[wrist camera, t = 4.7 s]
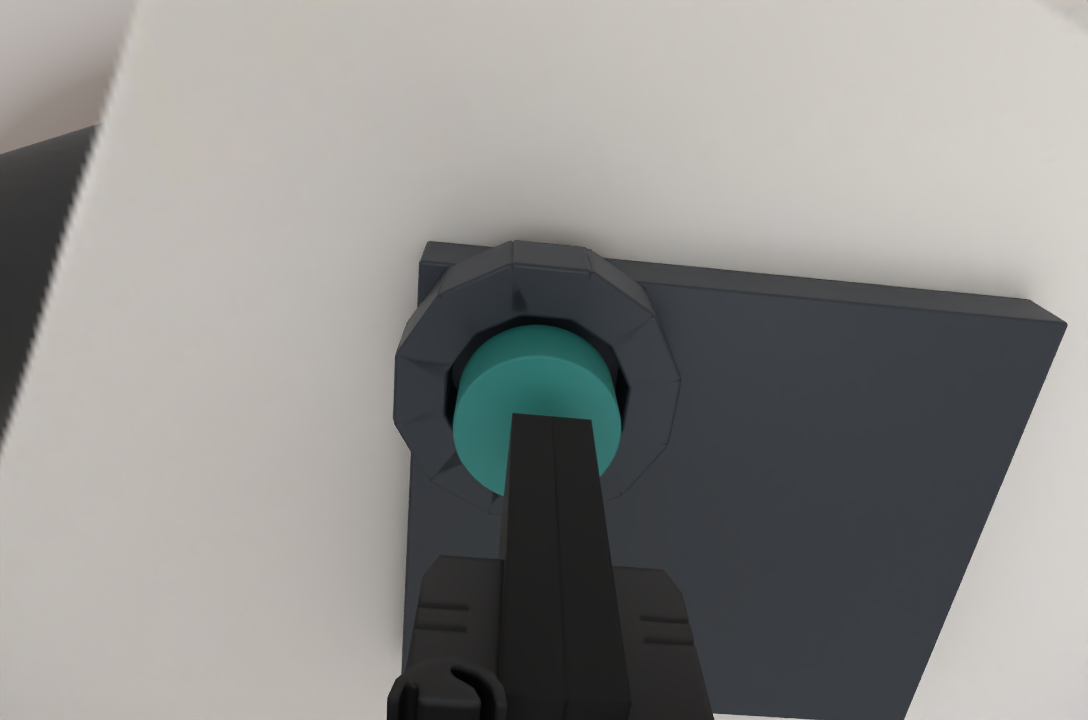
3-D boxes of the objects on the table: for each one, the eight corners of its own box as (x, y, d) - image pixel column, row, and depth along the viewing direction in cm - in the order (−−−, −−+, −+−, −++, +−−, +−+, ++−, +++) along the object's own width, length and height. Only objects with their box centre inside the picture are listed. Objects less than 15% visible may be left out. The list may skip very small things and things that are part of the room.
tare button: (454, 454, 19) (447, 496, 18) (463, 316, 18) (457, 348, 16) (602, 466, 19) (608, 509, 18) (624, 331, 18) (633, 364, 16)
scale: (399, 653, 26) (382, 745, 23) (418, 210, 20) (397, 251, 17) (880, 684, 27) (928, 776, 24) (1041, 272, 21) (1133, 322, 18)
